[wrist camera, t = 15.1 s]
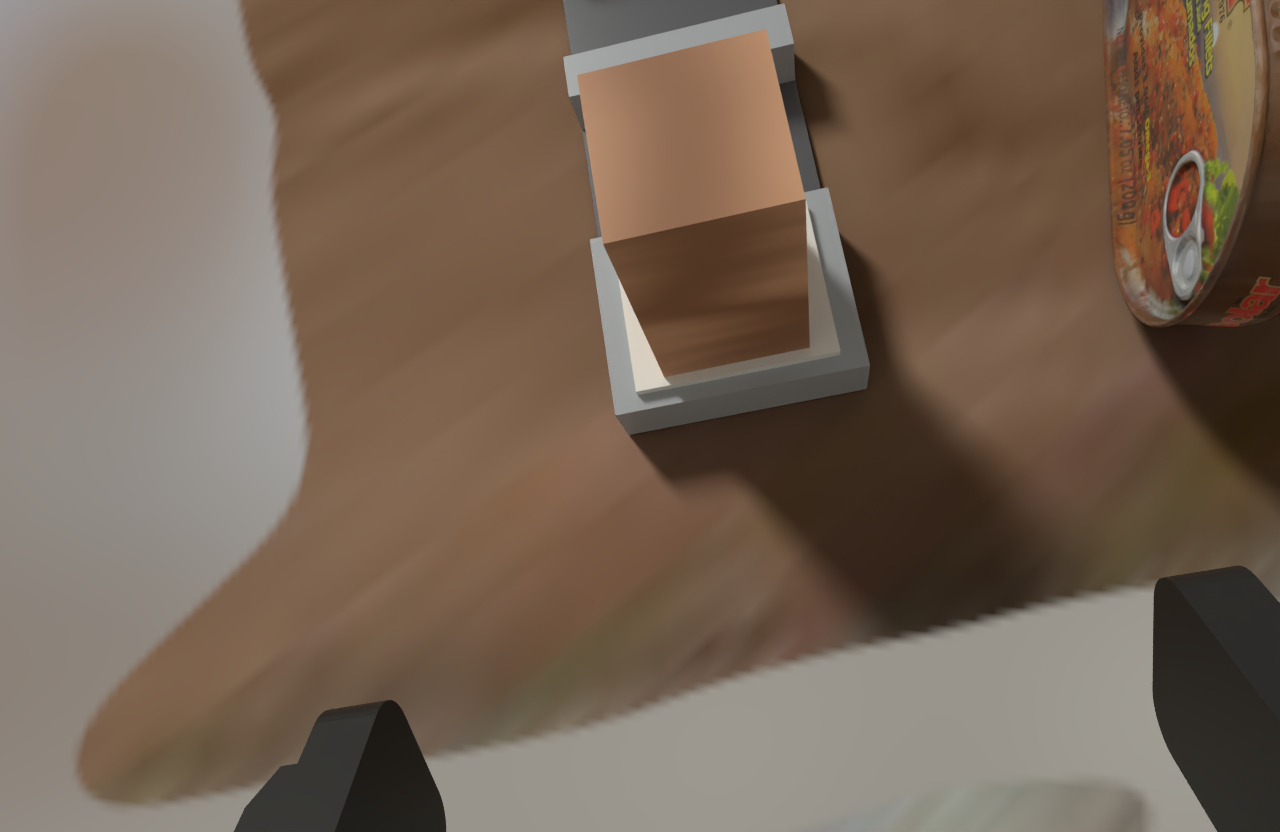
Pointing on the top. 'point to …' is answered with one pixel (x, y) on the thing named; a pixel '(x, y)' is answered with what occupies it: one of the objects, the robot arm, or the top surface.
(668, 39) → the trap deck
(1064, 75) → the top surface
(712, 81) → the block
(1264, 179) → the tin
